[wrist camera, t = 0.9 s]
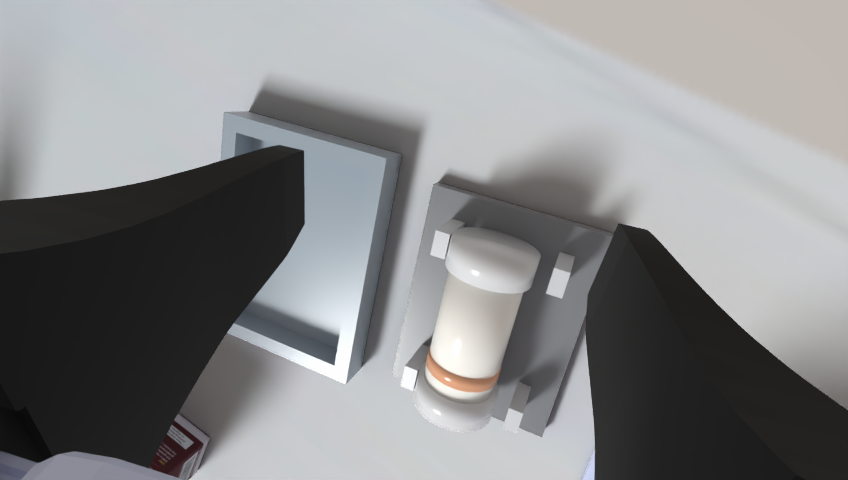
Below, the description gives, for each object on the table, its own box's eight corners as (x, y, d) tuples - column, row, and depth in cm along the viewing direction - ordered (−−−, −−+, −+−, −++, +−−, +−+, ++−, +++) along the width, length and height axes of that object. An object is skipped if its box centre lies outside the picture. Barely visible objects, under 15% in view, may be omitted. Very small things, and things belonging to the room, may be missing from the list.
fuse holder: (543, 429, 30) (535, 468, 27) (396, 369, 33) (373, 398, 30) (613, 233, 26) (613, 252, 23) (437, 182, 29) (415, 192, 25)
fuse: (503, 403, 30) (471, 445, 26) (436, 368, 31) (398, 403, 28) (551, 249, 26) (523, 272, 22) (474, 221, 28) (435, 237, 24)
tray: (361, 367, 34) (345, 384, 32) (231, 313, 37) (209, 325, 35) (402, 154, 29) (386, 158, 27) (248, 111, 32) (223, 112, 30)
